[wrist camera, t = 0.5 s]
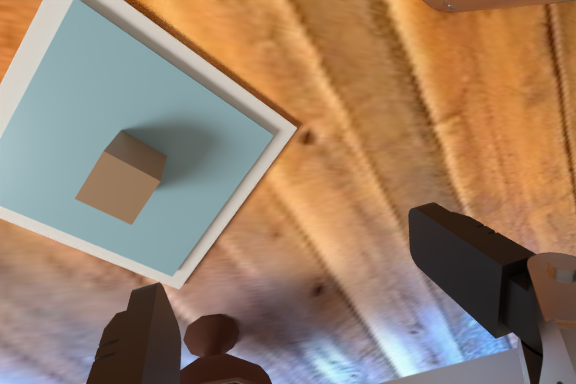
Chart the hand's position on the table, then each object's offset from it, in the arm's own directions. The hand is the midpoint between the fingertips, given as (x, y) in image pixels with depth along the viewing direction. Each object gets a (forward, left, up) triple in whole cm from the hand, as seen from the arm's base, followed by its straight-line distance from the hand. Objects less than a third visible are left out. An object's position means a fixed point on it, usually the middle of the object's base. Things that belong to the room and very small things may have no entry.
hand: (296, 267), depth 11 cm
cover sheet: (+6, -5, -18) cm, 20 cm away
